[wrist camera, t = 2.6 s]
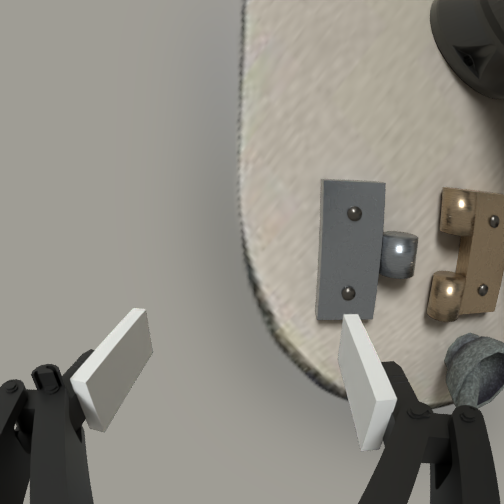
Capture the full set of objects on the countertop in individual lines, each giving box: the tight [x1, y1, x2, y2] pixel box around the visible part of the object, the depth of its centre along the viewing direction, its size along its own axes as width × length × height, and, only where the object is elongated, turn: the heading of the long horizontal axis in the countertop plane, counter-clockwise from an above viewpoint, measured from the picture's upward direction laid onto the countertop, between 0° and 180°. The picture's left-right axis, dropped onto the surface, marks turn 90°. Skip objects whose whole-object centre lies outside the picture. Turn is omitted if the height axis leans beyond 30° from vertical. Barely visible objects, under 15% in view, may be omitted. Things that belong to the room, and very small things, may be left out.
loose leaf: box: [315, 179, 418, 320], centre depth 30 cm, size 14×10×4 cm
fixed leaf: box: [427, 187, 504, 322], centre depth 29 cm, size 14×10×4 cm
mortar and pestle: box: [444, 333, 504, 409], centre depth 29 cm, size 11×9×12 cm
